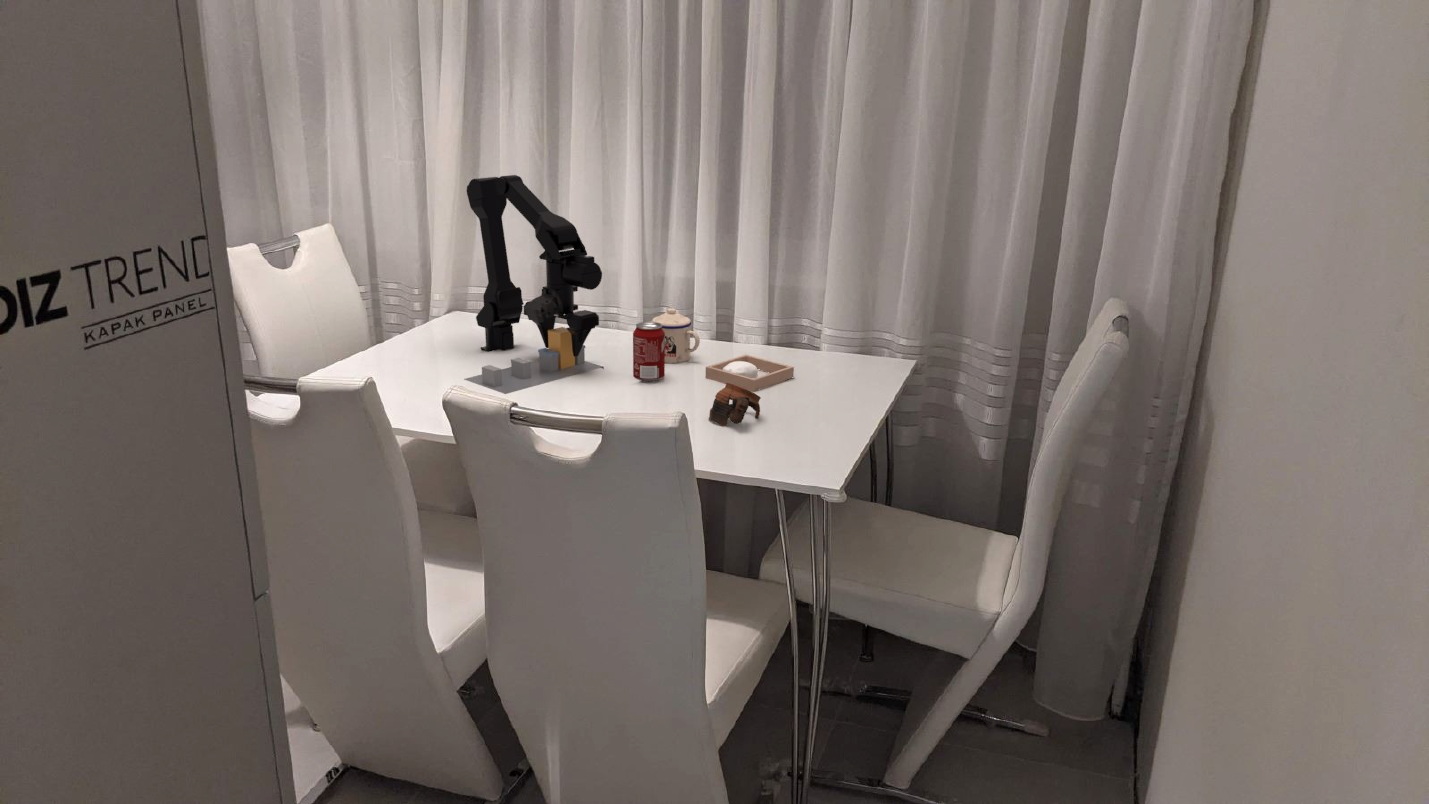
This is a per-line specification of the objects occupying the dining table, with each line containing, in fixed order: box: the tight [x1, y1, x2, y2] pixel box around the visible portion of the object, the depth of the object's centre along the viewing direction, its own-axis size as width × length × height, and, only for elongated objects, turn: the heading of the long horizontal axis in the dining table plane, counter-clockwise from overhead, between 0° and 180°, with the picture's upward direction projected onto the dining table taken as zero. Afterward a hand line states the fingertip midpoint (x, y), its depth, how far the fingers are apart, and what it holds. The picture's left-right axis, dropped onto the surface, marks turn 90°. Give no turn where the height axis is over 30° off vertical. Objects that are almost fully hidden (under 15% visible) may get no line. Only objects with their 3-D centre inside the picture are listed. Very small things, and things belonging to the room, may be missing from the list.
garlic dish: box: [705, 354, 795, 393], centre depth 232 cm, size 14×14×2 cm
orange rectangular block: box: [548, 326, 575, 369], centre depth 234 cm, size 4×4×8 cm
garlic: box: [723, 361, 759, 379], centre depth 231 cm, size 8×7×4 cm
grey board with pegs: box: [463, 344, 605, 395], centre depth 229 cm, size 14×27×5 cm, turn 139°
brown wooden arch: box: [708, 383, 762, 427], centre depth 205 cm, size 12×10×8 cm
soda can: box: [632, 321, 666, 383], centre depth 228 cm, size 7×7×12 cm
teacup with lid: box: [651, 307, 701, 364], centre depth 243 cm, size 12×9×12 cm
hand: (561, 351), depth 234 cm, fingers open, 9 cm apart
